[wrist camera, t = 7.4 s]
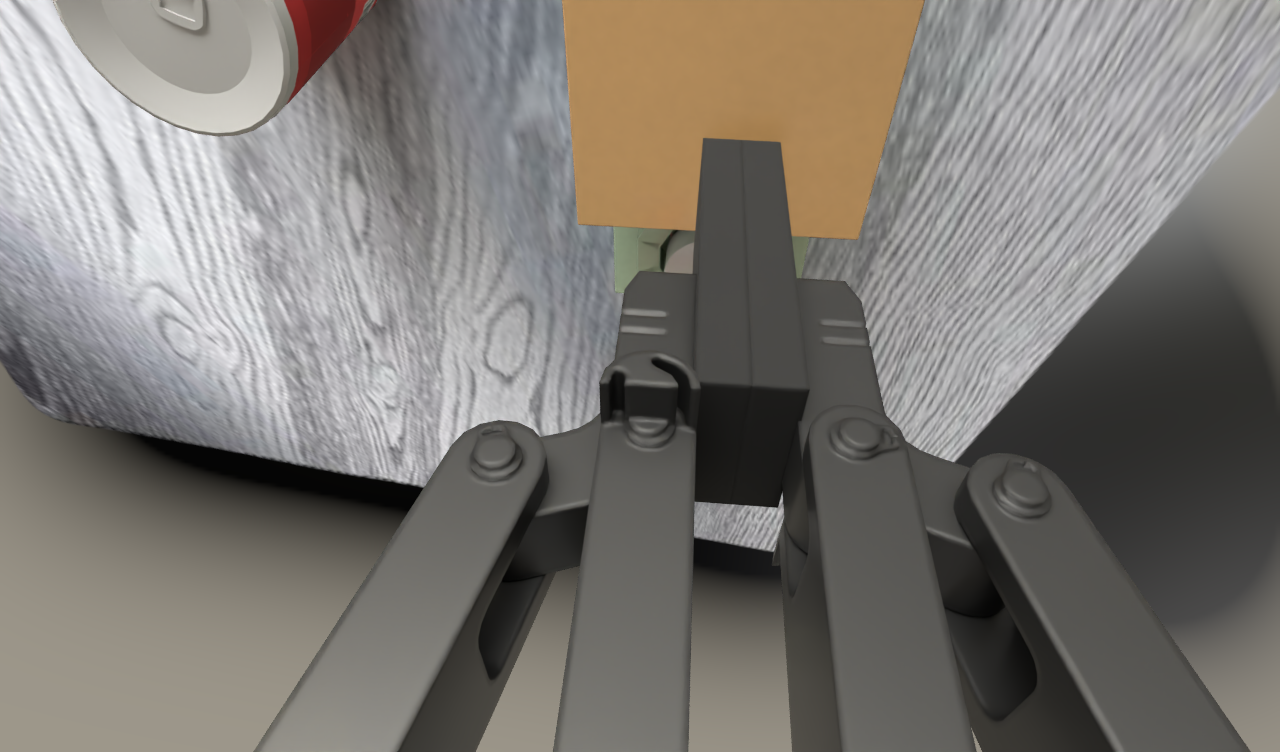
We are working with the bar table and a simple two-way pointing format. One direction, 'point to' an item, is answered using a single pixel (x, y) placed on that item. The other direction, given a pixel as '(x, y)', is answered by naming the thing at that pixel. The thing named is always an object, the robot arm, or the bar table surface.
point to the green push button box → (662, 252)
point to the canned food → (210, 53)
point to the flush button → (680, 252)
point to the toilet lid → (732, 101)
